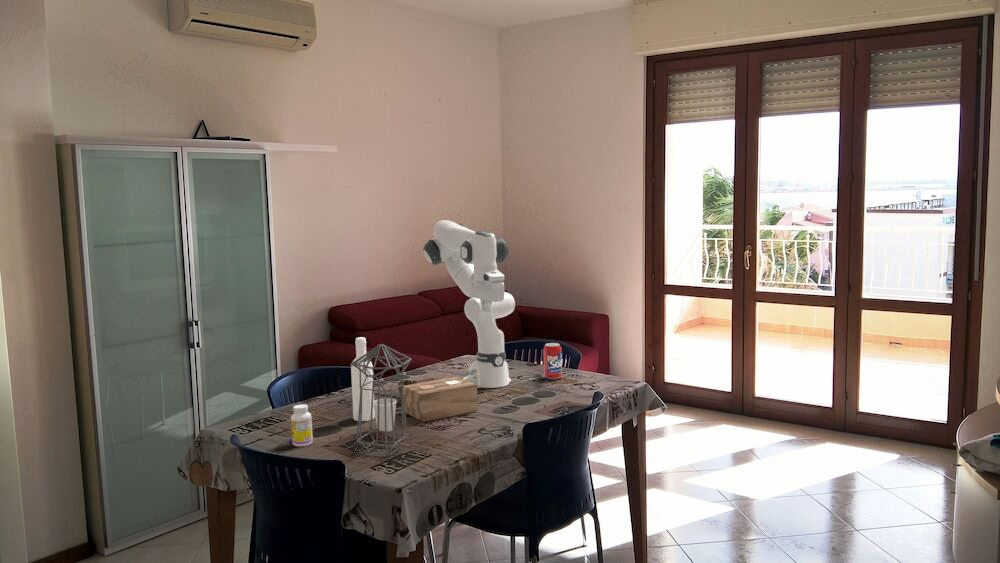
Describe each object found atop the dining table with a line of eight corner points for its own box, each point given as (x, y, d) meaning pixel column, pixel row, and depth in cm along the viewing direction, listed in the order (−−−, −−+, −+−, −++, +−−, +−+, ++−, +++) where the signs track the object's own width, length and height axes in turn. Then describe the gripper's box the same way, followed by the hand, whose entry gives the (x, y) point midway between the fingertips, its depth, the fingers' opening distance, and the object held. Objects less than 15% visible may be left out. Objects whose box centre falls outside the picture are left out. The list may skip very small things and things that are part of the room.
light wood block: (403, 411, 291) (402, 385, 290) (457, 401, 303) (456, 376, 302) (422, 421, 278) (421, 394, 277) (477, 410, 290) (477, 384, 289)
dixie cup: (376, 425, 274) (374, 398, 273) (399, 425, 274) (398, 398, 273) (371, 433, 266) (370, 404, 265) (395, 432, 266) (394, 404, 265)
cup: (420, 400, 307) (420, 380, 306) (411, 404, 300) (410, 384, 300) (404, 398, 310) (404, 378, 309) (394, 403, 304) (394, 383, 303)
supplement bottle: (294, 441, 260) (292, 403, 258) (314, 440, 260) (312, 402, 259) (290, 447, 253) (288, 409, 251) (311, 446, 253) (309, 408, 252)
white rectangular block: (444, 405, 294) (443, 382, 293) (456, 403, 297) (455, 380, 296) (450, 408, 290) (450, 384, 289) (462, 405, 293) (461, 382, 292)
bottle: (368, 422, 279) (364, 340, 275) (349, 420, 282) (345, 339, 278) (379, 416, 286) (375, 336, 283) (360, 414, 289) (356, 335, 286)
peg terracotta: (418, 410, 288) (417, 386, 287) (430, 407, 291) (429, 384, 290) (424, 413, 284) (423, 389, 283) (436, 410, 287) (435, 387, 286)
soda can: (550, 375, 343) (549, 341, 342) (565, 377, 339) (564, 343, 337) (540, 378, 337) (540, 345, 335) (556, 381, 332) (555, 346, 331)
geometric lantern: (371, 442, 256) (369, 338, 252) (415, 447, 251) (414, 341, 248) (348, 458, 241) (346, 347, 237) (394, 463, 236) (393, 350, 233)
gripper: (464, 273, 295) (465, 309, 296) (492, 277, 278) (493, 315, 279) (478, 272, 298) (479, 307, 300) (507, 276, 281) (508, 313, 283)
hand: (486, 311), depth 289 cm, fingers closed
